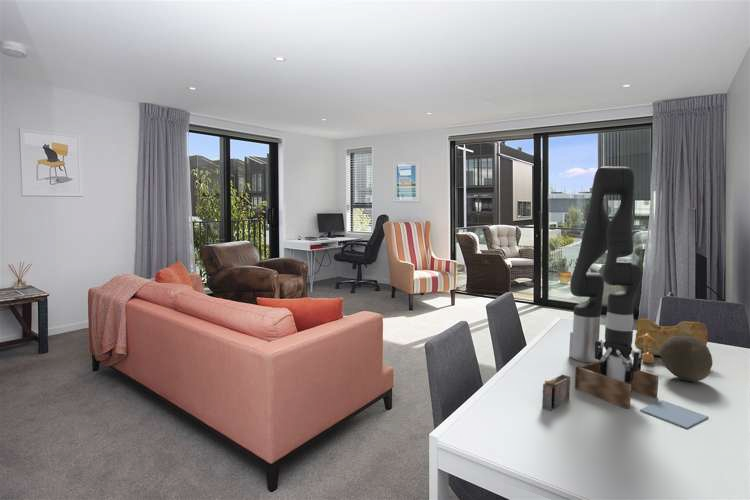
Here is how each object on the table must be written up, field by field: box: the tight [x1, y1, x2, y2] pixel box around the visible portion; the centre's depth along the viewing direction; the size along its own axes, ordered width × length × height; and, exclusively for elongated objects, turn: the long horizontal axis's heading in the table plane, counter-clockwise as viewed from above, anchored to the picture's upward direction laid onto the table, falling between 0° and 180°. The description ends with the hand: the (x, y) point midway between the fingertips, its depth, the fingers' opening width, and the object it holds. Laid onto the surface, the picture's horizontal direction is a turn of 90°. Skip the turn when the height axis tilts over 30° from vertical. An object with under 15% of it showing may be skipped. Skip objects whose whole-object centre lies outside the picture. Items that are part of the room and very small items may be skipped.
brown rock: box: [660, 336, 713, 382], centre depth 150 cm, size 14×14×15 cm
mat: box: [639, 399, 710, 430], centre depth 126 cm, size 12×12×1 cm
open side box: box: [574, 360, 660, 410], centre depth 140 cm, size 17×16×7 cm
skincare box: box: [606, 355, 628, 382], centre depth 139 cm, size 6×4×12 cm
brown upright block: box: [541, 373, 572, 412], centre depth 131 cm, size 11×3×10 cm, turn 131°
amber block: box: [634, 318, 709, 357], centre depth 176 cm, size 23×17×15 cm
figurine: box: [634, 333, 660, 364], centre depth 165 cm, size 8×6×12 cm
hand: (615, 378), depth 140 cm, fingers closed on skincare box, 7 cm apart
